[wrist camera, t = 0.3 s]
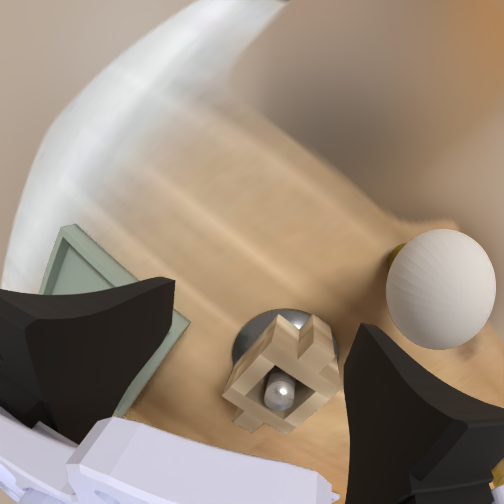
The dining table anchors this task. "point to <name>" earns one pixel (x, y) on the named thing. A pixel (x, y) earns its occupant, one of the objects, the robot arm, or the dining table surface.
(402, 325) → the light bulb
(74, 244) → the tray
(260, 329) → the grey metal round stand
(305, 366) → the beige hollow block
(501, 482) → the sauce bottle
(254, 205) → the dining table surface
